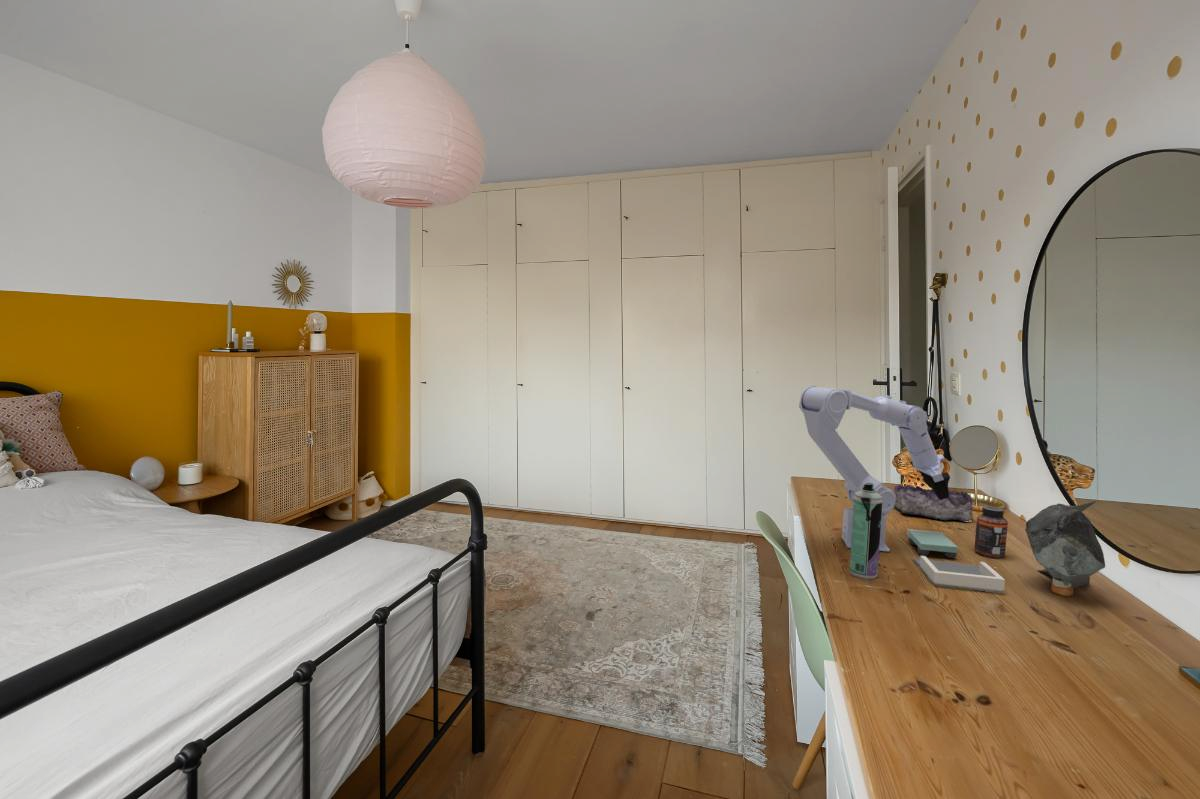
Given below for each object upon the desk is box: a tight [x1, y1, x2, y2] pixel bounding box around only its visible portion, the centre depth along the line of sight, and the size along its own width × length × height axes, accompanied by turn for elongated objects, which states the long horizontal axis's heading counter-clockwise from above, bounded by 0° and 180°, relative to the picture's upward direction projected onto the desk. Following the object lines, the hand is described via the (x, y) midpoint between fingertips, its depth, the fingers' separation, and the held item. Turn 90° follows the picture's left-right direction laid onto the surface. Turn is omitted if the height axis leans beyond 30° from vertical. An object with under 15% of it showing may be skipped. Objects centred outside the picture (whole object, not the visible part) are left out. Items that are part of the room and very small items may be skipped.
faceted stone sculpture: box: [1024, 500, 1106, 597], centre depth 107 cm, size 14×15×18 cm
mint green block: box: [906, 528, 959, 559], centre depth 128 cm, size 8×11×3 cm
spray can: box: [849, 483, 882, 580], centre depth 113 cm, size 6×6×20 cm
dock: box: [911, 555, 1006, 595], centre depth 113 cm, size 12×14×3 cm
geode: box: [893, 484, 974, 522], centre depth 155 cm, size 20×12×10 cm, turn 63°
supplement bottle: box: [973, 505, 1009, 559], centre depth 125 cm, size 6×6×11 cm
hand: (938, 490), depth 135 cm, fingers open, 7 cm apart
